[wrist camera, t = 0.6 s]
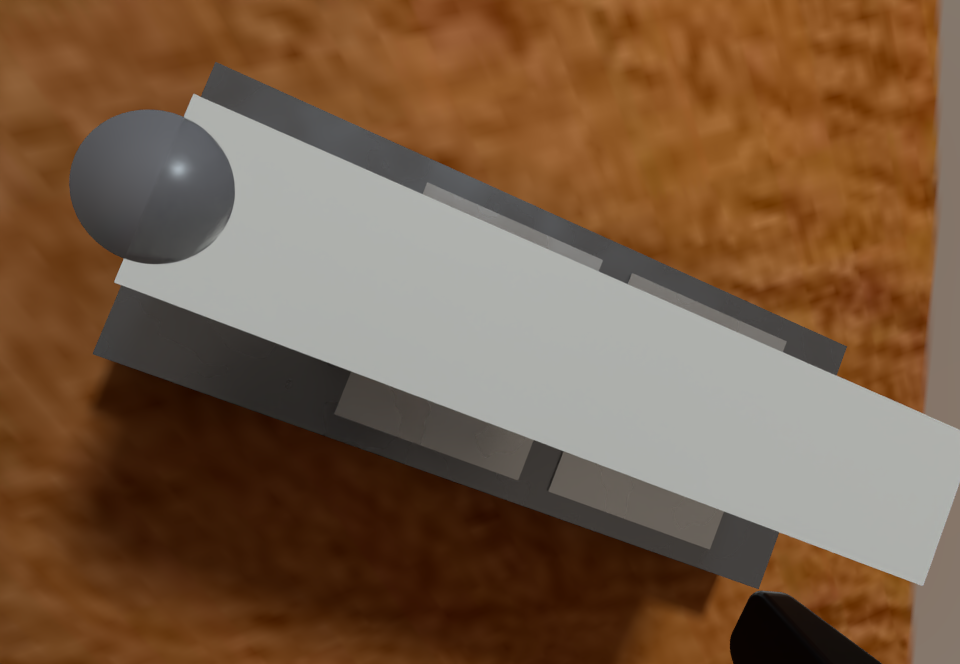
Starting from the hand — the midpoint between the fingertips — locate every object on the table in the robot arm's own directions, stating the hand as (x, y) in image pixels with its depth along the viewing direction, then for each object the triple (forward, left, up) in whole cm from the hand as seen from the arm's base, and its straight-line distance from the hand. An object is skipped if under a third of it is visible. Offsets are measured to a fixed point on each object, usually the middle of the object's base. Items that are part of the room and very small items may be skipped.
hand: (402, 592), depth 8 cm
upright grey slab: (+5, -2, -14) cm, 15 cm away
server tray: (+5, -2, -17) cm, 18 cm away
